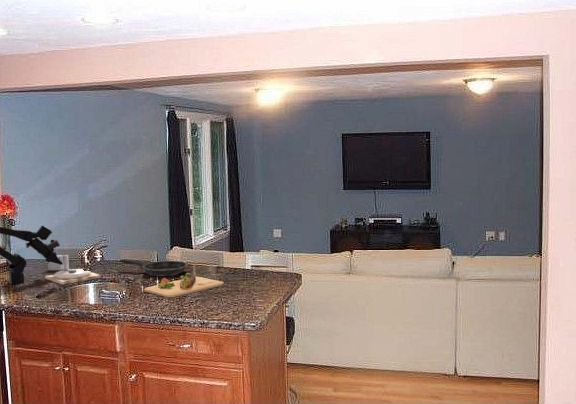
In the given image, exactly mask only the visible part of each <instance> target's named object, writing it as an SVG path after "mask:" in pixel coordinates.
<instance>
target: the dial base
mask: <svg viewBox="0 0 576 404" xmlns="http://www.w3.org/2000/svg"><path fill="white" fill-rule="evenodd" d="M90 272H91V274H90V275H88V276H85V277H80V278H72V279H59V278H55V274H50V275H45V276H44V278H45V280H47V281H51V282H54V283H57V284H60V285H67V284H73V283H80V282H85V281H89V280H94V279H99V278H101V274H99V273H95V272H92V271H90Z"/></svg>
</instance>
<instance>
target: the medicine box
mask: <svg viewBox="0 0 576 404" xmlns="http://www.w3.org/2000/svg"><path fill="white" fill-rule="evenodd" d="M63 255H64V254H57V257H58V258H59V259H60V261H61V262H62V263H63ZM47 266H48V271H63V270H64V266H63V264H62V265H60V264H57V263H53V262H49V263H48V262H47ZM62 269H63V270H62Z"/></svg>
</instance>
